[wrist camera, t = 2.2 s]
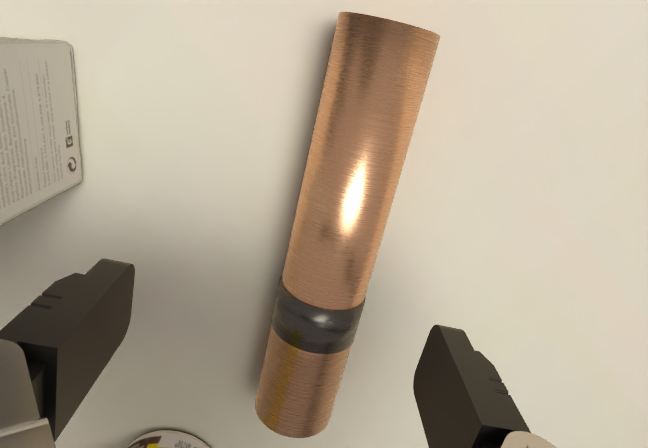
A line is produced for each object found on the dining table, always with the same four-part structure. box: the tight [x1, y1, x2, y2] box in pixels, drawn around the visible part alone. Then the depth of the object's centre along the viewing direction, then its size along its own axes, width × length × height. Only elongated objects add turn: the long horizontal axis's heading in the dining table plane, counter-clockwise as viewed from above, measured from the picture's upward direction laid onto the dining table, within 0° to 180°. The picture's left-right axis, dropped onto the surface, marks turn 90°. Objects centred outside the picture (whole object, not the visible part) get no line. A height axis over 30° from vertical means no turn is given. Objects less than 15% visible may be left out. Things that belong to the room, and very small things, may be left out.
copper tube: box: [255, 12, 440, 438], centre depth 19 cm, size 17×4×4 cm
